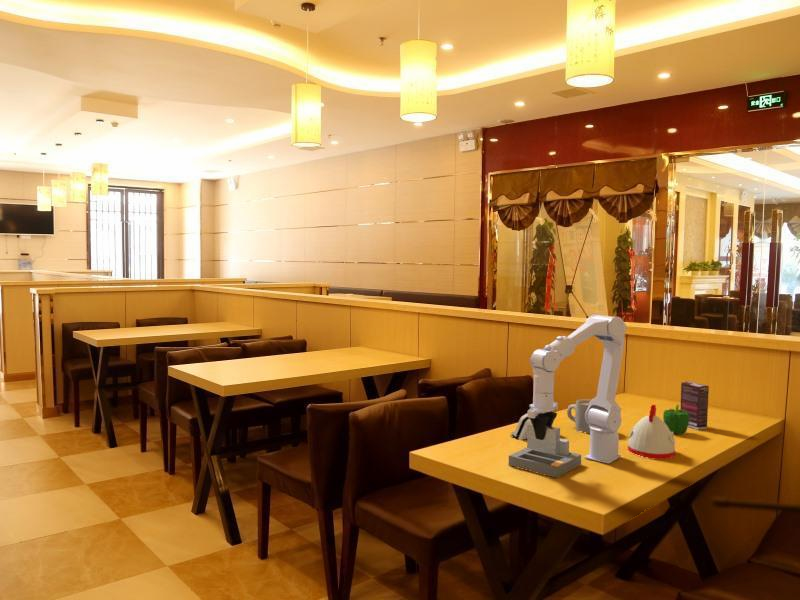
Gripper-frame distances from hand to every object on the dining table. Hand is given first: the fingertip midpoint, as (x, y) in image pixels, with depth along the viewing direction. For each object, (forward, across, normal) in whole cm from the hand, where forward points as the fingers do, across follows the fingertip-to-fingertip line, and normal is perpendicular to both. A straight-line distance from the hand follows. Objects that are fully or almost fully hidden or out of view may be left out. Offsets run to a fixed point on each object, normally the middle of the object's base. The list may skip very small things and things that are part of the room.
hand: (542, 438), depth 179 cm
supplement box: (+10, -80, +19) cm, 83 cm away
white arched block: (+10, -31, -19) cm, 38 cm away
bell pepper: (+10, -67, +17) cm, 70 cm away
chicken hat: (+10, -39, +18) cm, 44 cm away
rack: (+10, -5, -1) cm, 11 cm away
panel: (+3, 0, 0) cm, 4 cm away
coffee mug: (+10, -50, -9) cm, 52 cm away
